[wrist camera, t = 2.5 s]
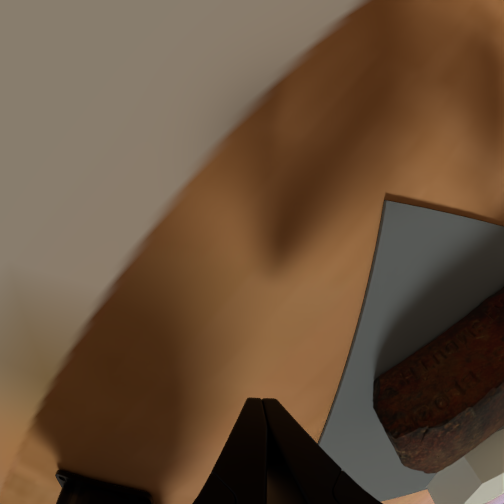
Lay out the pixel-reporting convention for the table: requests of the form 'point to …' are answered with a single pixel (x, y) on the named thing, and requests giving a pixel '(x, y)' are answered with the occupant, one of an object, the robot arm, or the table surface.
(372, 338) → the grey mat
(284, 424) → the robot arm
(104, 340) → the table surface
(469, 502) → the block
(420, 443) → the brick
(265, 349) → the table surface
